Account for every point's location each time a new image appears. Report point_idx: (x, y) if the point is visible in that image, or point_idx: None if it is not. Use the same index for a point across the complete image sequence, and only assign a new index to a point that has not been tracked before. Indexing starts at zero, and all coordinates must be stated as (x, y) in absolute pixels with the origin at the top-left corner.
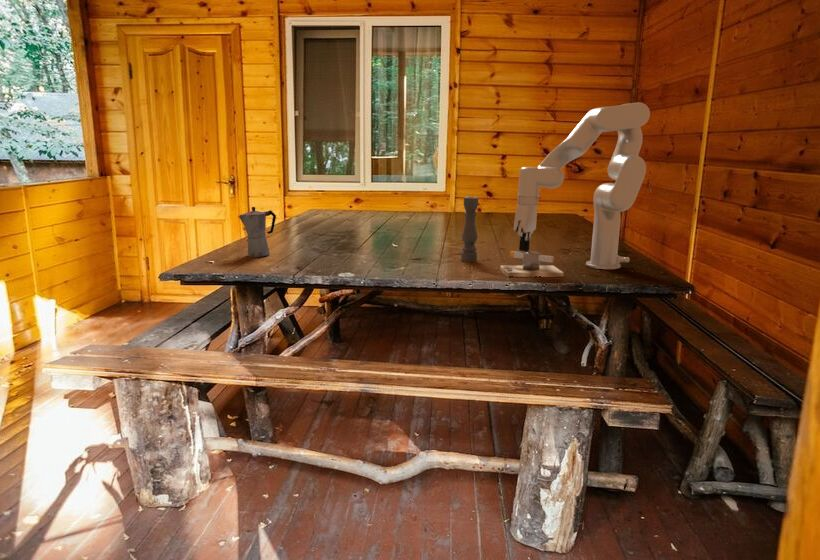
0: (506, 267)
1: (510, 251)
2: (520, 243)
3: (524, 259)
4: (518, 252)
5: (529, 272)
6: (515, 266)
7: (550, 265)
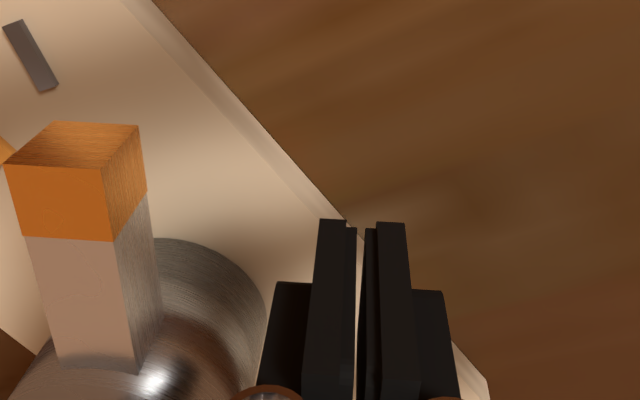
0: (24, 68)
1: (15, 166)
2: (308, 322)
3: (41, 348)
4: (62, 296)
5: (23, 343)
6: (166, 137)
7: (476, 395)
